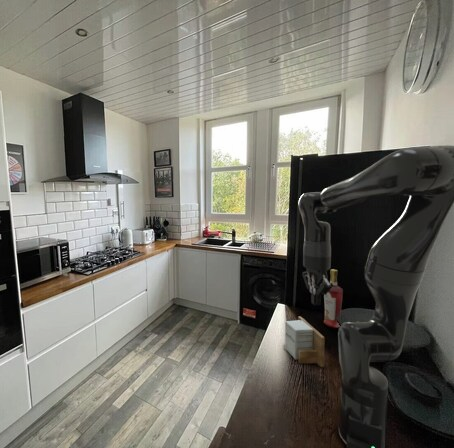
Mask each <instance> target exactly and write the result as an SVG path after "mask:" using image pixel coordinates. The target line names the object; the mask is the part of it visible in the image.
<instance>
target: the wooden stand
mask: <svg viewBox="0 0 454 448" xmlns="http://www.w3.org/2000/svg"><path fill="white" fill-rule="evenodd" d="M297 320H302V321H303V322H305V323H306V324H307V325H308V326H310V327H311V328H312V329H313V350H299V358H298V359H297V360H298V363H299V364H317V365H318V366H319V367H320V368H325V345H326V344H325V343H326V340H325V339H326V338H325V336H324V335H323V334H321V333H320V332H319V331H318V330H317V329H316V328H314V326H312V325H311V324H310V323H309V322H308V321H307V320H306V319H305V318H303V317H302V316H298V317H297Z"/></svg>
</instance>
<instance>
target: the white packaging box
mask: <svg viewBox="0 0 454 448" xmlns="http://www.w3.org/2000/svg"><path fill="white" fill-rule="evenodd" d="M284 334H285V335H284V337H285V338H284V339H285V340H284V341H285V342H284V348H285V350H286V351H287V352H288V353H289V354H290V355H291V357H293V359H294V360H296V361H297V360H298V358H299V350H313V329H312V328H311V327H310V326H308V325H307V324H306V323H305V322H303V321H302V320H298V319H297V320H286V321H285V333H284Z"/></svg>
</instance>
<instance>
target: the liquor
mask: <svg viewBox="0 0 454 448" xmlns="http://www.w3.org/2000/svg"><path fill="white" fill-rule="evenodd" d="M329 273H330V278H329V279H330V280H329V283H332V284H333V287H332V288H331V289H330V290H329V291H328V293H327V294H326V295H323V299H324V320H323V323H324V324H325V325H326V327H328V328H331V329H339V328H340V325H339V323H338V322H337V319H336V317H337V316H339V315H340V314H341V313H342V303H343V295H344V294H343V293H344V290H343V288H341V286H338V278H337V277H338V270H337V269H334V268H333V269H331V268H330V272H329ZM340 316H341V315H340Z"/></svg>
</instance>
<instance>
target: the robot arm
mask: <svg viewBox="0 0 454 448" xmlns="http://www.w3.org/2000/svg"><path fill="white" fill-rule="evenodd" d="M382 196H404V197H409V198H408V201H407V203H406V206H405V208H404V210H403V212H402V214H401V215H400V217H399V218H398V219H397V220H395V222H394V223H393V224H392V225H391V226H390V227H389V228H388V229H387V230H386V231H384V233H382V235H381V236H379V238H378V239H377V240H376V241H375V242H374V243H373V245H372V246H371V248H370V249H369V252H368V255H367V260H366V263H365V266H364V270H363V272H364V273H363V276H364V281H365V283H366V285H367V287H368V289H369V291H370V293H371V296H373V298H374V301H375V307H374V310H373V314H372V316H371V318H370V319H368V320H359V321H358V320H357V321H355V320H354V321H345V322H342V323H340V324H341V326H340V327H338V332H337V344H338V363H339V367H340V392H339V393H340V395H339V396H340V397H339V415H338V416H339V421H338V422H339V424H338V437H339V439H340V441H341V442H342V443H343V444H344V445H345V446H346V448H386V433H387V419H388V405H389V389H390V388H389V387H390V386H389V380H388V378H387V377H386V376H385V374H384V373H383V372H381V370H379V369H377V368H375V367H374V366H372V365H370V363H383V362H384V363H385V362H392V361H395V360H397V359H398V358H399V357H400V356H401V353H402V351H403V347H404V343H405V338H406V332H407V327H408V322H409V317H410V314H411V311H412V308H413V305H414V302H415V299H416V295H417V292H418V290H419V288H420V286H421V284H422V281H423V279H424V275H425V273H426V270H427V267H428V263H429V260H430V257H431V254H432V252H433V249H434V247H435V245H436V242H437V240H438V237H439V235H440V232H441V230H442V227H443V225H444V223H445V221H446V219H447V217H448V215H449V214H450V211H451V210H452V208H453V206H454V145H449V144H447V145H446V144H445V145H429V146H411V147H404V148H401V149H400V148H399V149H398V150H395V151H394V152H391V153H390V154H388V155H386V156H384V157H383V158H381V159H379V160H377V162H375V163H374V164H371V166H368V167H367V168H366V169H364V170H363V171H361V172H359V173H357V174H356V175H354V176H352V177H350V178H347V179H345V180H342V181H340V182H338V183H337V182H336V183H335V184H332V185H330V186H328V187H326V188H324V189H323V190H322V191H315V192H305V193H303V194H302V195H301V196H300V198H299V200H298V210H299V213H300V215H301V219H302V224H303V228H304V241H303V247H302V248H303V249H302V251H303V252H302V253H303V254H302V255H303V256H302V257H303V258H302V266H303V267H304V268H305V269H306V271H303V272H301V275H302V278H303V280H304V283H305V286H306V289H307V290H309V292H310V295H311V297H310V301H311V304H312V305H313V306H321V304H322V296H324V295H326V294H327V293H328V291H329V290H330V289H331V288H332V287H333V284H332V283H330V281H329V280H328V277H329V276H328V271H329V270H331V264H332V244H331V224H330V223H329V222H327V221H322V220H319V219H318V218H317V215H326V214H327V215H328V214H332V213H336V212H338V211H340V210H342V209H346V208H350V207H354V206H357V205H360V204H361V203H363V202H364V201H366V199H368V198H372V197H373V198H374V197H382Z"/></svg>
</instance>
